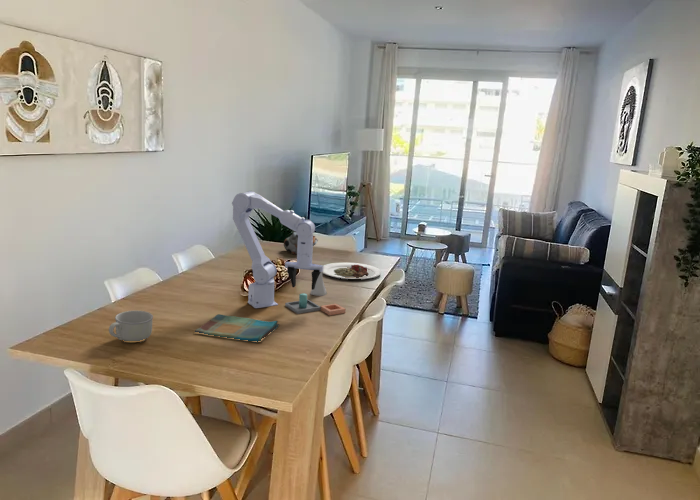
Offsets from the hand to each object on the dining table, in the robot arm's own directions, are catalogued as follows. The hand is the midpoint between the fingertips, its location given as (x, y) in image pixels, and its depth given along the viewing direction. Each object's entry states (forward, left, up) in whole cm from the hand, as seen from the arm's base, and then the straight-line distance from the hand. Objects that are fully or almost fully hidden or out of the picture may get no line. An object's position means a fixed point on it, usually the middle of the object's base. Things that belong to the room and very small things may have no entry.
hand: (303, 287), depth 197 cm
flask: (+15, +14, -9) cm, 22 cm away
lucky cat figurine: (+44, +86, -9) cm, 97 cm away
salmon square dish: (+9, -8, -8) cm, 14 cm away
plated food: (+46, +37, -9) cm, 60 cm away
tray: (0, 0, -8) cm, 8 cm away
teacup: (-63, -5, -9) cm, 64 cm away
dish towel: (-30, -10, -9) cm, 33 cm away
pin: (0, 0, -8) cm, 8 cm away
